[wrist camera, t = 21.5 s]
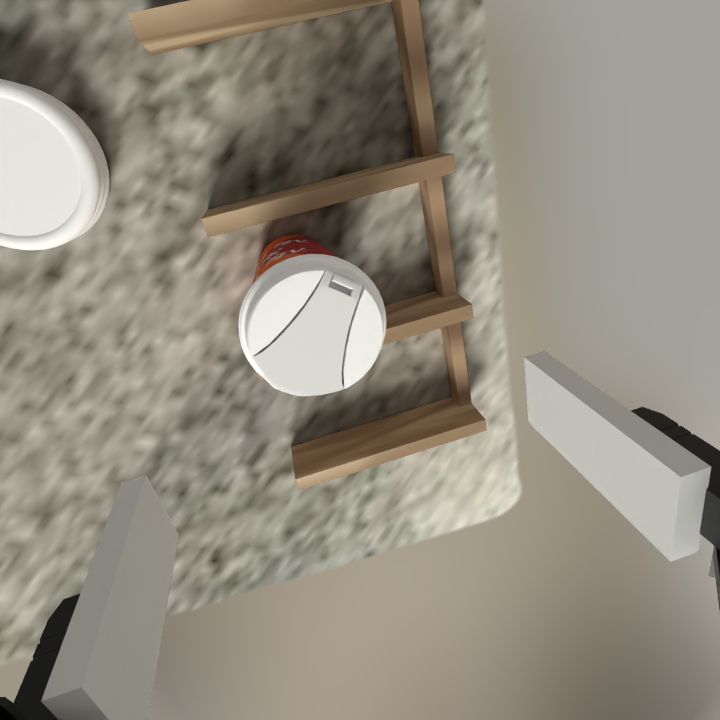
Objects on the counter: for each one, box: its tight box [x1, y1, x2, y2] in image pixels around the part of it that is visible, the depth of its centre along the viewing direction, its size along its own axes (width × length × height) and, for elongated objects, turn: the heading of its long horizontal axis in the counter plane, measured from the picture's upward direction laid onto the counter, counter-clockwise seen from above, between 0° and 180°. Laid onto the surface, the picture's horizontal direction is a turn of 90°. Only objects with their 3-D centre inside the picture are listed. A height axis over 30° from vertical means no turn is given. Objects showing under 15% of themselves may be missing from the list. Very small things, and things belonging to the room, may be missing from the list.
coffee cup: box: [239, 234, 386, 396], centre depth 32 cm, size 8×8×15 cm
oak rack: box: [127, 0, 487, 490], centre depth 37 cm, size 35×18×5 cm, turn 12°
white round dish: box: [0, 79, 110, 250], centre depth 31 cm, size 10×10×4 cm
